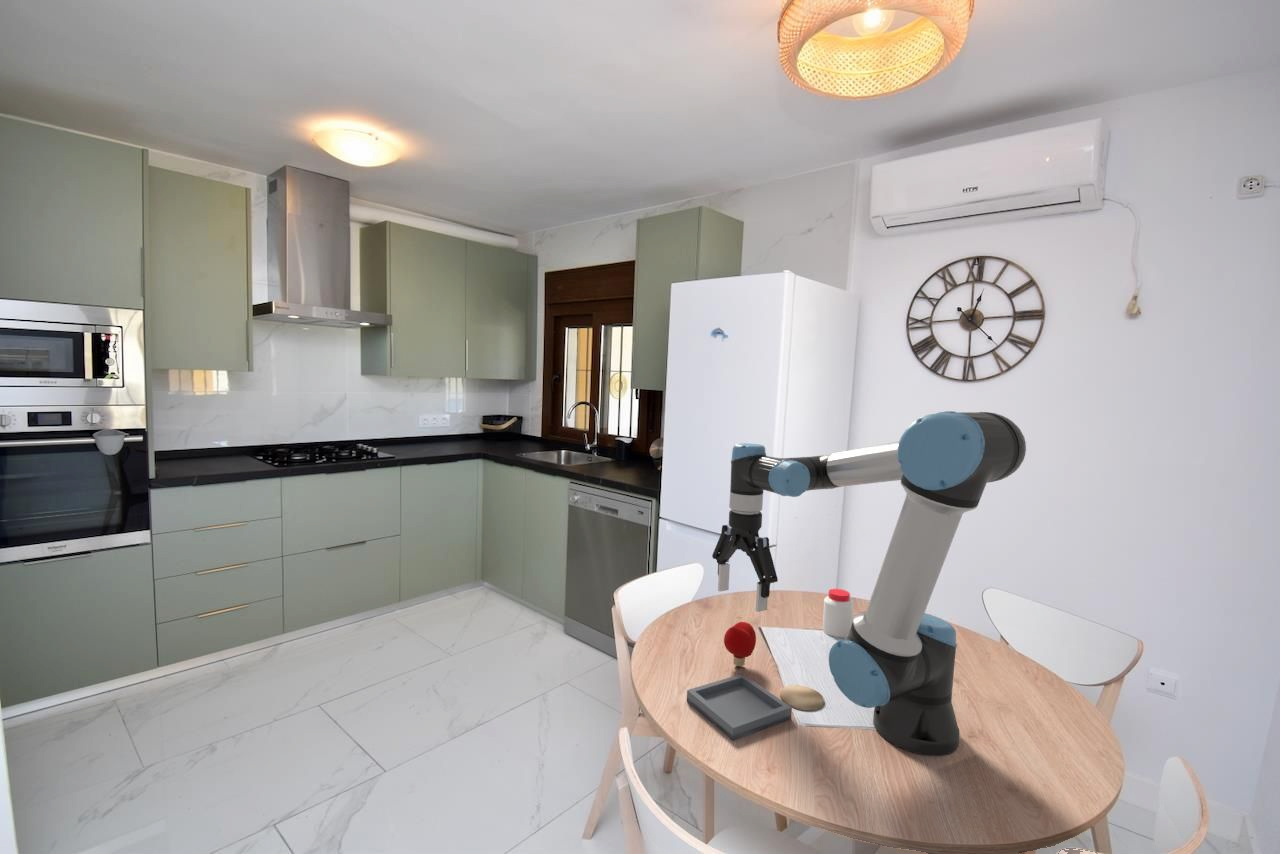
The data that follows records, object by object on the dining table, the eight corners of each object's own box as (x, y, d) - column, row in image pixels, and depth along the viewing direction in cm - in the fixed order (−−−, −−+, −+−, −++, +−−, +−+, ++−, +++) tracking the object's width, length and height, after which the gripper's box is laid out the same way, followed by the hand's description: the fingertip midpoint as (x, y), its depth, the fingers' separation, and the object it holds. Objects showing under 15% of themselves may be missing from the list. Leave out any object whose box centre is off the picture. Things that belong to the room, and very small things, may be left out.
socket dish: (791, 718, 116) (791, 707, 116) (732, 740, 109) (733, 728, 109) (742, 683, 129) (742, 673, 129) (686, 701, 122) (687, 690, 121)
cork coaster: (832, 703, 122) (832, 701, 122) (802, 714, 118) (802, 712, 118) (801, 683, 130) (801, 681, 130) (771, 693, 126) (771, 691, 126)
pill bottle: (816, 628, 160) (818, 589, 159) (837, 623, 163) (839, 585, 163) (836, 639, 153) (838, 599, 152) (858, 635, 156) (860, 595, 156)
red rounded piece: (743, 679, 131) (745, 636, 130) (715, 669, 135) (717, 627, 135) (761, 664, 139) (763, 623, 138) (734, 654, 143) (736, 615, 142)
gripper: (797, 521, 125) (792, 616, 127) (724, 498, 147) (720, 580, 148) (771, 524, 121) (766, 622, 123) (700, 501, 143) (697, 585, 145)
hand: (741, 600), depth 136 cm, fingers open, 13 cm apart
